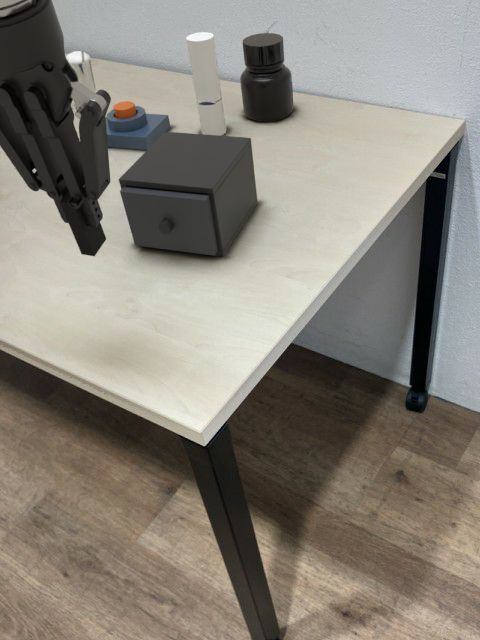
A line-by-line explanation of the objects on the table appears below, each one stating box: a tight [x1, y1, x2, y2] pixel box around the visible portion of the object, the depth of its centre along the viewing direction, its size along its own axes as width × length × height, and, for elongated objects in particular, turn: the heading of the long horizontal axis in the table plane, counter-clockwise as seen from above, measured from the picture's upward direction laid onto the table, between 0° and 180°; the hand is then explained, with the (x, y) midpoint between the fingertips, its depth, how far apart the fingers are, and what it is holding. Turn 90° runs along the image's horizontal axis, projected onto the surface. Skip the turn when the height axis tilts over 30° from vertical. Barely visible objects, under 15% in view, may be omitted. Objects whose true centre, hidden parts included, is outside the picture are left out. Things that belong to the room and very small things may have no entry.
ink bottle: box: [239, 32, 294, 122], centre depth 105 cm, size 10×9×12 cm
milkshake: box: [65, 50, 97, 94], centre depth 114 cm, size 5×5×10 cm
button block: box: [105, 105, 171, 151], centre depth 105 cm, size 11×9×4 cm
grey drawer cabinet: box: [118, 131, 259, 257], centre depth 81 cm, size 14×13×10 cm
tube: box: [185, 31, 227, 136], centre depth 100 cm, size 4×4×15 cm
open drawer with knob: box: [119, 187, 218, 257], centre depth 79 cm, size 14×11×8 cm
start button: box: [112, 100, 137, 119], centre depth 103 cm, size 4×4×2 cm
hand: (94, 246), depth 63 cm, fingers closed
